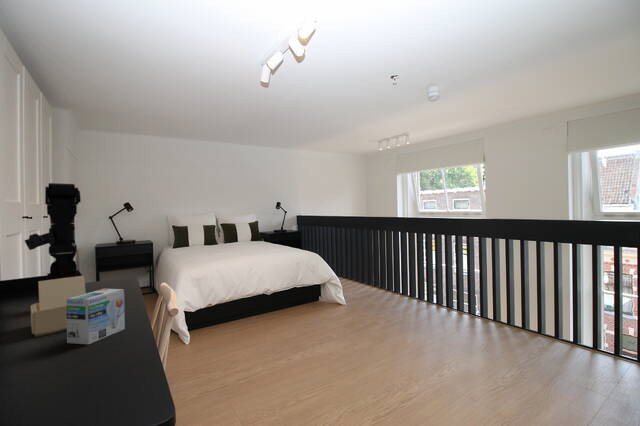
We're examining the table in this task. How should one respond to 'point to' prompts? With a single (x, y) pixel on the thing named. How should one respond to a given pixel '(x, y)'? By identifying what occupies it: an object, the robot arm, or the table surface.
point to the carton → (48, 320)
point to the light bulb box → (95, 315)
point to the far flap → (59, 291)
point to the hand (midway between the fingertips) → (63, 274)
